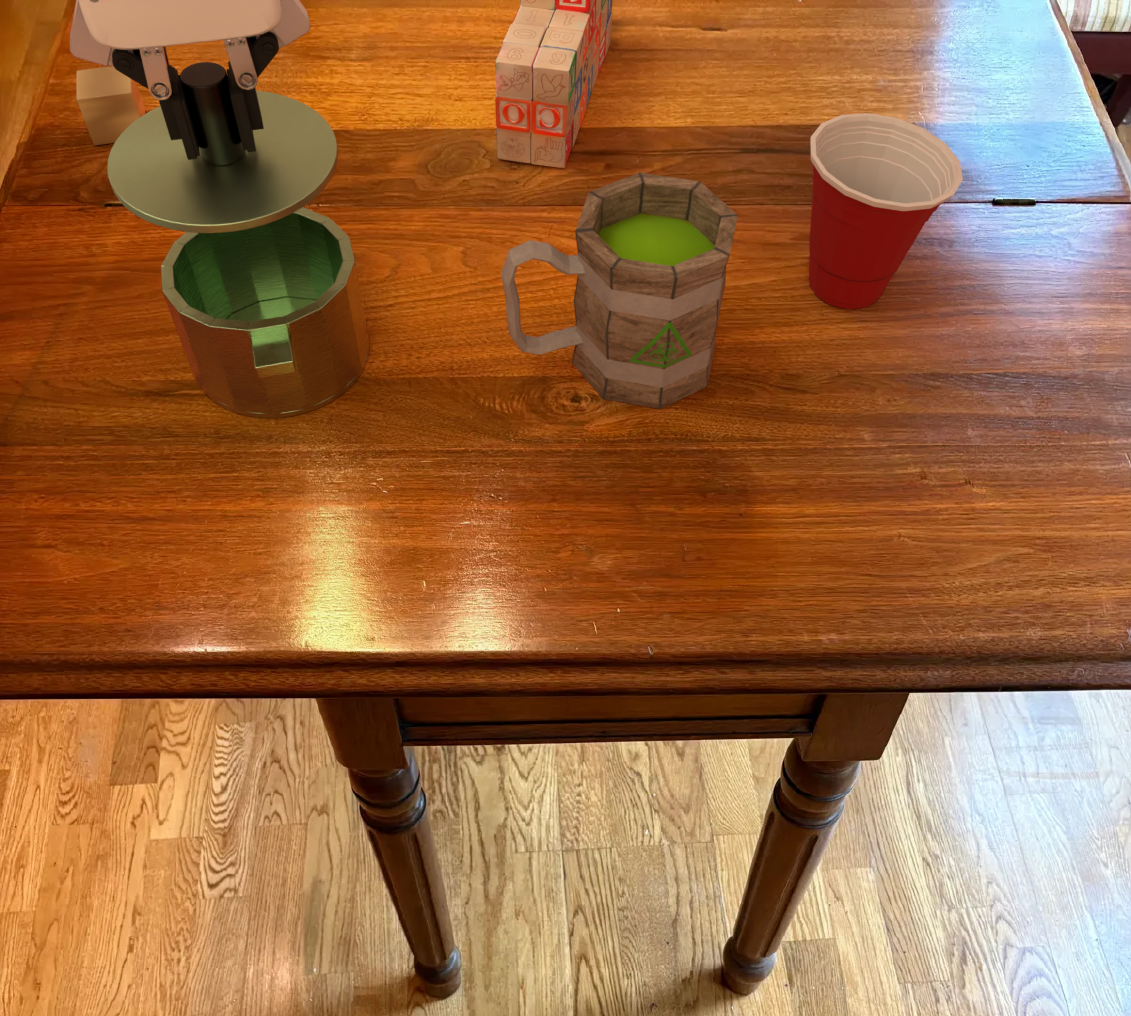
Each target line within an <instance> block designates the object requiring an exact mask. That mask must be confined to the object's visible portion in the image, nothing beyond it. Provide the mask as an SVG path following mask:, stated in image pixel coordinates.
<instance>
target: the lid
mask: <svg viewBox="0 0 1131 1016" xmlns="http://www.w3.org/2000/svg"><path fill="white" fill-rule="evenodd" d="M179 75H180V81H181V85H182V88H183V91H184V95H185V98H186V102H187V105H188V109H189V113H190V116H191V120H192V123H193V127H194V130H195V134H196V138H197V141H198V145H199V151H200V156H197V159H192V160H188V159H187V155H186V152H185V148H184V145H183V142H182V139H179V140H171V139H170V136H169V132H168V129H167V126H166V122H165V119H164V116H163V112H162V109H161V106H157V107H156V108H153V109H152V110H150V111H148V112H145V113H146V114H145V115H143V116H141V117H140V118H138V119H137V120H136V121H135V122H133V123H132V124H131V125H129V126H128V127H127V128H126V129H125V130H124V131H123V132H122V134H121V135H120V136H119V137H118V139H117V140H116V141H115V143H113V145H112V146H111V149H110V152H109V155H108V158H107V167H106V171H107V179H108V180H109V183H110V187H111V189H112V191H113V193H114V195H115V197H116V198H117V200H118V201H119V202H120V203H121V204H122V205H123V207H125V208H126V209H127V211H129V212H130V213H132V214H133V215H135V216H136V217H138V218H140V219H142V220H144V221H145V222H148V223H150V224H152V225H156V226H158V227H161V228H165V229H169V230H172V231H178V232H184V233H186V232H193V233H223V232H233V231H239V230H245V229H250V228H254V227H258V226H262V225H265V224H268V223H271V222H274V221H276V220H279V219H281V218H283V217H286V216H288V215H290V214H292V213H294V212H295V211H297V210H299V209H300V208H302V207H304V208H305V206H307V205H309V204H310V203H311V202H312V201H313V200H315V199H316V198H317V197H318V196H319V195H320V194H321V193H322V192H323V191H324V190H325V188H326V187H327V186H328V185H329V183H330V182H331V180H332V178H333V177H334V174H335V172H336V168H337V166H338V161H339V149H338V144H337V138H336V134H335V133H334V130H333V128H332V127H331V125H330V124H329V121H327V120H326V119H325V118H324V116H323V115H321V114H320V112H318V111H316V110H315V109H314V108H312V107H311V106H309V105H307V104H306V103H303V102H301V101H299V100H297V99H295V98H292V97H289V96H286V95H283V94H279V93H276V92H275V93H274V92H271V91H270V92H269V91H263V90H257V89H256V93H257V97H258V102H259V106H260V111H261V116H262V121H263V126H264V129H259V130H253V134H254V141H255V147H256V151H255V152H247V150H243V146H242V142H241V138H240V134H239V130H238V125H237V121H236V117H235V113H234V109H233V105H232V101H231V96H230V91H229V80H228V76H227V70H226V68H225V67H224V66H223V65H221V64H219V63H217V62H214V61H213V62H212V61H201V62H200V61H199V62H196V63H192V64H189V65H187V66H186V67H185V68H183V69H182V71H181V72H180V73H179Z"/></svg>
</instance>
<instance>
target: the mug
mask: <svg viewBox="0 0 1131 1016" xmlns="http://www.w3.org/2000/svg"><path fill="white" fill-rule="evenodd" d="M738 216H739V214H737V213H736V212H735V211H734V210H733V209H732V208H731V207H730V206H729V205H728V204H726V203H725V202H724V201H723V200H721V198H720V197H718V196H717V195H716V194H715V193H714V192H713V191H711V190H710V189H709V188H708V187H707V186H706V185H705V184H704V183H702V182H701V181H700V180H692V179H687V178H686V179H685V178H679V177H673V176H667V175H661V174H652V173H646V172H637V173H635V174H632V175H629V176H626V177H624V178H621V179H618V180H617V181H616V180H615V181H614V182H611V183H609V184H606V185H604V186H601V187H598V188H595V189H593V190H591V191H588V192H587V195H586V199H585V201H584V204H583V206H582V210H581V213H580V216H579V218H578V221H577V225H576V228H575V231H574V232H575V240H576V250H577V254H570V255H569V254H565V253H564V252H562V251H560V250H559V249H557V248H556V247H554V246H553V245H552V244H551V243H548V242H543V241H537V240H532V239H529V240H527V241H525V242H523V243H521V244H519V245H516V246H514V247H512V248H509V249H508V253H507V255H506V257H505V260H504V263H503V266H502V269H501V281H502V287H503V292H504V298H505V309H506V311H505V312H506V321H507V328H508V335H509V336H510V338H511V339H512V341H513V342H514V343H515V345H516V347H518V349H519V350H520V352H521V353H524V354H525V353H526V354H532V355H535V356H541V355H545V354H547V353H551V352H554V351H558V350H561V349H566V348H571V347H574V350H573V355H572V360H571V364H572V365H573V366H574V368H575V369H576V370H577V372H578V373H580V375H581V376H582V377H583V379H585V380H586V381H587V383H588V384H589V385H590V386H591V387H592V388H593V389H594V390H595V392H596V393H597V394H598V395H599V396H600V397H601V399H602V400H608V401H612V402H618V403H624V404H628V405H629V404H630V405H635V406H641V407H647V408H653V409H659V410H661V409H663V408H666V407H667V406H669V405H672V404H674V403H676V402H678V401H681V400H682V399H684V398H687V397H689V396H691V395H693V394H695V393H697V392H699V391H702V390H703V389H705V388H707V387H708V386H709V380H710V375H711V370H712V364H713V361H714V354H715V350H716V331H717V327H718V322H719V318H720V313H721V308H722V303H723V299H724V294H725V288H726V280H727V279H726V278H727V265H728V262H729V259H730V255H731V251H732V246H733V242H734V241H733V240H734V235H735V232H736V226H737V221H738ZM531 260H536V261H539V262H544V263H547V264H549V265H550V266H551V267H552V268H553V269H554V270H556V271H558V272H559V273H562V274H563V275H566V276H567V275H568V276H569V275H570V276H571V275H573V276H577V277H576V282H575V290H574V296H573V308H574V309H573V310H574V316H575V318H574V319H575V325H574V326H570V327H566V328H562V329H558V330H557V329H556V330H553V331H550V332H548V333H545V334H543V335H540V336H532V335H527V334H525V333H524V332H523V330H522V325H521V306H520V304H521V303H520V296H519V291H518V287H517V284H516V280H515V278H516V274H517V270H518V266H520V265H523V264H525V263H527V262H530V261H531Z"/></svg>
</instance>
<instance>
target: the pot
mask: <svg viewBox="0 0 1131 1016" xmlns="http://www.w3.org/2000/svg"><path fill="white" fill-rule="evenodd" d="M358 275H359V274H358V270H357V264H356V260H355V255H354V250H353V246H352V242H351V238H350V236H349V235H348V234H347V233H346V232H345V231H344V230H343V229H342V228H341V227H340V226H339V225H338V224H337V223H336V222H335V221H334V220H333V219H332V218H330V217H328V216H326V215H323V214H321V213H319V212H316V211H314V210H312V209H309V208H306V207H305V206H304V207H302V208H300V209H299V210H297V211H295V212H294V213H292V214H290V215H288V216H286V217H283V218H281V219H279V220H276V221H274V222H271V223H268V224H265V225H262V226H258V227H254V228H250V229H245V230H239V231H233V232H223V233H193V232H184V233H183V234H182V235H181V236H180V237H178V238H177V239H176V240H174V242H173V243H172V245H171V247H170V248H169V250H168V252H167V254H166V255H165V257H164V259H163V261H162V263H161V265H160V277H161V279H160V280H161V291H162V294H163V297H164V300H165V302H166V305H167V307H168V310H169V313H170V316H171V318H172V321H173V324H174V327H175V329H176V332H177V335H178V338H179V340H180V343H181V346H182V349H183V352H184V354H185V356H186V359H187V362H188V364H189V367H190V371H191V372H192V375H193V378H194V379H195V380H196V382H197V384H198V385H199V387H200V389H201V391H203V393H204V394H205V395H206V396H207V397H208V399H210V400H212V401H213V402H214V403H215V404H216V405H218V406H220V407H221V408H223V409H225V410H228V411H230V412H232V413H235V414H239V415H241V416H245V417H250V418H251V417H252V418H258V419H281V418H288V417H294V416H298V415H303V414H306V413H309V412H312V411H316V410H318V409H320V408H322V407H325V406H327V405H328V404H331V403H332V402H334V401H336V400H337V399H338V398H340V397H341V396H343V395H344V394H345V393H346V392H347V391H349V390H350V389H351V388H352V387H353V386H354V385H355V383H356V382H357V381H358V380H359V378H360V377H361V375H362V374H363V372H364V370H365V368H366V365H367V363H368V359H369V355H370V347H371V345H370V344H371V343H370V338H369V332H368V327H367V321H366V315H365V309H364V304H363V299H362V298H363V297H362V293H361V288H360V281H359V276H358Z"/></svg>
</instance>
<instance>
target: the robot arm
mask: <svg viewBox="0 0 1131 1016" xmlns="http://www.w3.org/2000/svg"><path fill="white" fill-rule="evenodd" d="M70 27H71V28H70V32H69V33H70V34H69V51H70V54H71V55H72V56H73V57H75V58H77V59H80V60H84V61H86V62H90V63H94V64H97V65H100V66H103V67H110V66H112V67H114V68H115V69H116V70H117V71H119V72H120V73H122V74H124V75H125V76H127V77H129V78H130V79H132V80H134V81H135V82H136V83H137V84H139V85H140V86H142V87H144V88H145V89H147V90H148V93H149V94H150V96H151V97H152V98H154V99H156V100H158V102H159V105H160V106H161V109H162V112H163V116H164V119H165V122H166V126H167V129H168V132H169V136H170V139H171V140H179V139H182V142H183V145H184V148H185V152H186V155H187V159H188V160H192V159H197V156H200V151H199V145H198V141H197V138H196V134H195V130H194V127H193V123H192V120H191V116H190V113H189V109H188V105H187V102H186V98H185V95H184V91H183V88H182V85H181V81H180V74H179V71H178V69H177V68H176V67H174V66H173V65H171V64H170V60H169V54H168V51H167V47H173V46H184V45H190V44H191V45H193V44H201V43H210V42H211V43H212V42H219V41H222V42H223V44H224V47H225V50H226V54H227V57H228V62H227V64H228V65H227V66H228V68H225V70H226V72H227V76H228V80H229V91H230V96H231V101H232V105H233V109H234V113H235V117H236V121H237V125H238V130H239V134H240V138H241V142H242V146H243V150H247V152H255V151H256V147H255V141H254V134H253V130H259V129H264V126H263V121H262V116H261V111H260V106H259V102H258V97H257V93H256V90H257V89H256V87H257V86H258V84H259V77H260V76H261V75H262V74H263V72H264V71H265V70H266V68H268V66H269V65H270V64H271V62H272V60H273V59H274V58H275V57H276V56H277V54H278V52H279V51H280V49H281V48H283V47H287V46H289V45H290V44H292V43H293V42H295V41H297V40H299V39H301V37H304V36H305V35H307V34H308V33H309V32H310V31H311V19H310V17H309V13H308V10H307V9H306V7H305V6H304V5H303V3H302V2H301V0H75V6H74V10H73V16H72V21H71V26H70Z"/></svg>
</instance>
